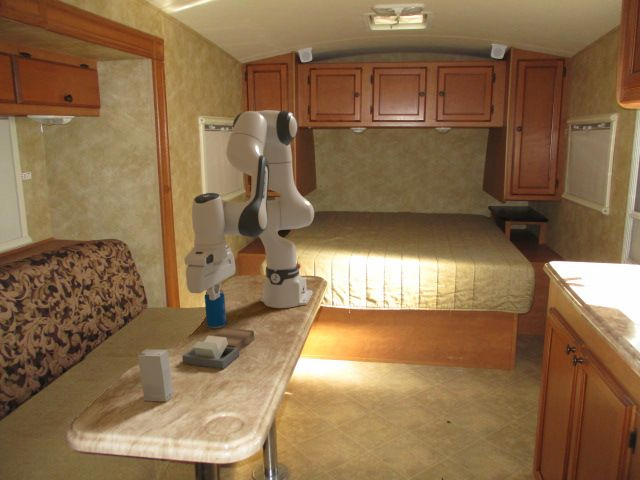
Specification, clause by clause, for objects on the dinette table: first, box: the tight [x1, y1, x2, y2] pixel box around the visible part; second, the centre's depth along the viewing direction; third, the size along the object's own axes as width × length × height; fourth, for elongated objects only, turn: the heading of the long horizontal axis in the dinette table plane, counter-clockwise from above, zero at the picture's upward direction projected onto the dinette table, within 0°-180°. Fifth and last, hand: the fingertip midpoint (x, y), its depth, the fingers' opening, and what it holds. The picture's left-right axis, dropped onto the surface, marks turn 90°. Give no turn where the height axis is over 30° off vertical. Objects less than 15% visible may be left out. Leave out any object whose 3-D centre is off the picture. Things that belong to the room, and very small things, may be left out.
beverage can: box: [204, 289, 227, 329], centre depth 174 cm, size 6×6×12 cm
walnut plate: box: [213, 327, 255, 353], centre depth 158 cm, size 12×10×3 cm
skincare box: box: [137, 348, 174, 403], centre depth 127 cm, size 6×4×12 cm
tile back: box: [203, 335, 228, 356], centre depth 150 cm, size 5×6×2 cm
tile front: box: [192, 340, 221, 359], centre depth 147 cm, size 5×6×2 cm
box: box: [181, 347, 240, 371], centre depth 148 cm, size 9×13×2 cm
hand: (214, 298), depth 149 cm, fingers closed
